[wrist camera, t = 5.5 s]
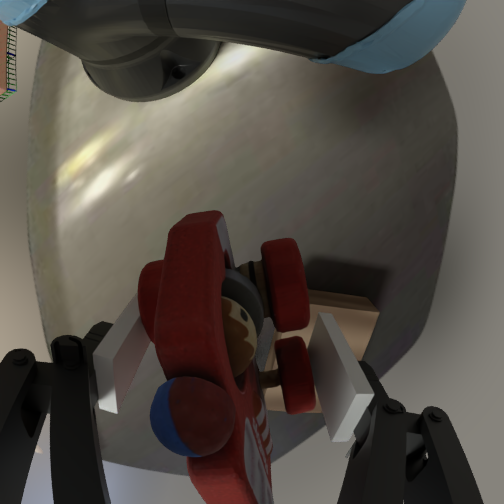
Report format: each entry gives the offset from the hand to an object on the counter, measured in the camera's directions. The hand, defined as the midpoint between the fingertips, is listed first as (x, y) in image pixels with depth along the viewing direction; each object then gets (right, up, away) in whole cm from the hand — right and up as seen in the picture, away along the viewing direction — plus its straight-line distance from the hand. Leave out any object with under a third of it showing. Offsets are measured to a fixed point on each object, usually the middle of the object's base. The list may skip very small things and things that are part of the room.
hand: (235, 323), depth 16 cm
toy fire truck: (0, 0, +1) cm, 1 cm away
